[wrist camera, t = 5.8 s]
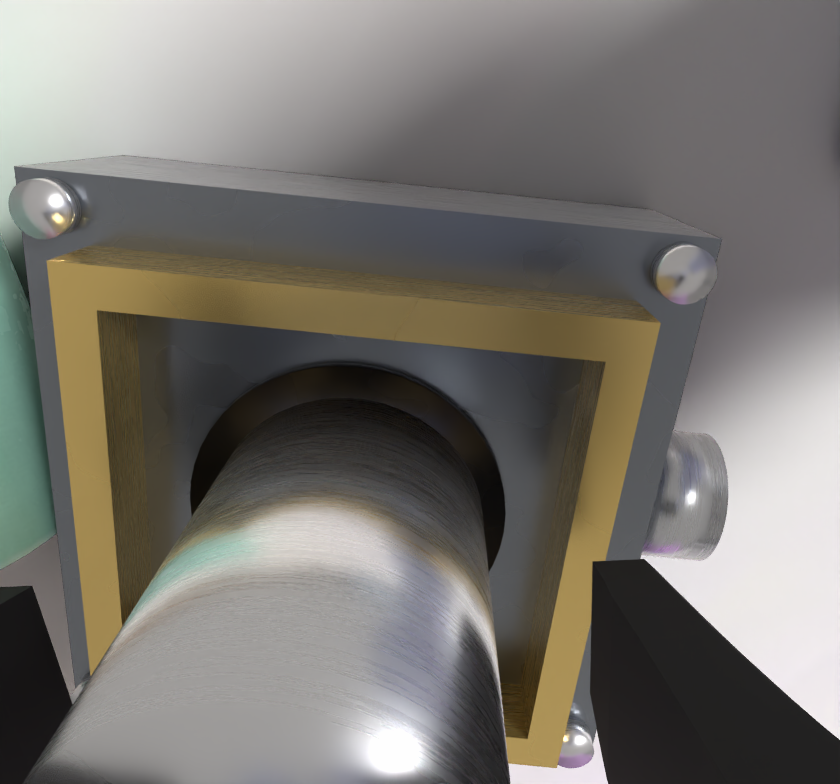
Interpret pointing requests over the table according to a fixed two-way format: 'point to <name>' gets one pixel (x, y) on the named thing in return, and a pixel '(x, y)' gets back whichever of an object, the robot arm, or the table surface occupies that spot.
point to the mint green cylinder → (21, 428)
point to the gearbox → (372, 379)
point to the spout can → (307, 623)
